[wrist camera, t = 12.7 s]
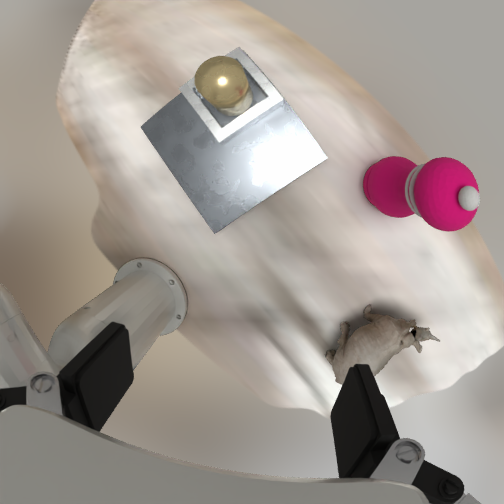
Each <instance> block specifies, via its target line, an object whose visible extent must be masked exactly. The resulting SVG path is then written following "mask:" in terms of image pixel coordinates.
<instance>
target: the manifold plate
mask: <svg viewBox="0 0 504 504" xmlns="http://www.w3.org/2000/svg"><path fill="white" fill-rule="evenodd" d="M225 56H227V57H231V58H233V59H235V60H237V61H238V62H239V63H240V64H241V66H242V68H243V70H244V73H245V75H246V78H247V80H248V83H249V85H250V88H251V90H252V94H253V100H252V103H251V105H250V107H249V108H248V109H247V110H246V111H245V112H243V113H242V114H239V115H235V116H228V115H224V114H222V113H220V112H219V111H218V110H217V109H216V108H215V107H214V106H213V105H212V104H211V103H209V102H208V101H207V100H206V99H205V98H204V97H203V96H202V95H201V94H200V93H199V92H198V91H197V89H196V87H195V82H194V78H195V77H193V78H192V79H191V80H189V81H188V82H187V83H185V84H184V85H183V86H181V87H180V88H179V90H180V91H181V92H182V93H180V94H179V95H178V96H176V97H175V98H174V99H173V100H171V101H170V102H169V103H168V104H167V105H165V106H164V107H163V108H162V109H160V110H159V111H158V112H157V113H156V114H155V115H153V116H152V117H151V118H150V119H149V120H148V121H147V122H145V123H144V124H143V125H142V126H141V128H142V130H143V131H144V133H145V134H146V136H147V137H148V139H149V140H150V142H151V143H152V145H153V146H154V148H155V149H156V150H157V152H158V153H159V155H160V156H161V158H162V159H163V161H164V162H165V164H166V165H167V166H168V168H169V169H170V171H171V172H172V174H173V175H174V177H175V178H176V180H177V181H178V182H179V184H180V185H181V187H182V188H183V190H184V191H185V192H186V194H187V195H188V197H189V198H190V200H191V201H192V202H193V204H194V205H195V207H196V208H197V210H198V211H199V212H200V214H201V215H202V217H203V218H204V220H205V221H206V222H207V224H208V225H209V227H210V228H211V229H212V231H213V232H214V234H215V233H217V232H218V231H220V230H221V229H222V228H224V227H225V226H227V225H228V224H230V223H231V222H232V221H234V220H235V219H237V218H238V217H240V216H241V215H243V214H244V213H245V212H247V211H248V210H250V209H251V208H253V207H254V206H256V205H257V204H259V203H260V202H262V201H263V200H265V199H266V198H268V197H269V196H270V195H272V194H273V193H275V192H276V191H278V190H279V189H281V188H282V187H284V186H285V185H287V184H288V183H290V182H291V181H293V180H295V179H296V178H298V177H299V176H301V175H302V174H304V173H305V172H307V171H308V170H310V169H311V168H313V167H314V166H316V165H318V164H319V163H321V162H322V161H324V160H325V159H327V157H326V155H325V154H324V152H323V151H322V149H321V148H320V146H319V145H318V143H317V142H316V141H315V139H314V138H313V136H312V135H311V133H310V132H309V131H308V129H307V128H306V127H305V125H304V124H303V122H302V121H301V120H300V118H299V117H298V116H297V114H296V113H295V112H294V111H293V109H292V108H291V107H290V105H289V104H288V103H287V101H286V100H285V99H284V98H283V96H282V95H281V94H280V93H279V91H278V90H277V89H276V88H275V86H274V85H273V84H272V83H271V82H270V80H269V79H268V78H267V77H266V76H265V74H264V73H263V72H262V71H261V70H260V69H259V67H258V66H257V65H256V64H255V63H254V62H253V61H252V59H251V58H250V57H249V56H248V55H247V54H246V53H245V52H244V51H243V50H242V49H241V48H240V47H238V48H236V49H235V50H233V51H231V52H230V53H228V54H227V55H225Z"/></svg>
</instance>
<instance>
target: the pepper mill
mask: <svg viewBox="0 0 504 504" xmlns="http://www.w3.org/2000/svg"><path fill="white" fill-rule="evenodd" d="M363 188H364V193H365V195H366V197H367V199H368V200H369V201H370V203H372V204H373V205H374V206H376V208H377V209H378V210H379V211H381V212H382V213H384V214H385V215H388V216H391V217H397V218H402V217H407V216H410V215H413V214H414V213H415V214H417V215H418V216H420V217H422V218H423V219H424V220H425V221H426V222H427V223H428V224H429V225H431V226H432V227H434V228H436V229H439V230H442V231H456V230H459V229H462V228H463V227H465V226H466V225H467V224H469V223H470V222H471V220H472V219H473V217H474V215H475V214H476V211H477V208H478V205H479V202H480V196H479V190H478V185H477V183H476V180H475V178H474V176H473V174H472V172H471V171H470V170H469V169H468V168H467V167H466V166H465V165H464V164H462V163H461V162H459V161H458V160H455V159H452V158H447V157H441V158H435V159H432V160H431V161H429V162H427V163H426V164H421V165H419V166H417V165H416V164H415V163H413V162H412V161H410V160H408V159H406V158H403V157H396V156H392V157H387V158H384V159H382V160H380V161H379V162H378V163H376V164H374V165H372V166H371V167H370V168H369V169H368V170H367V172H366V174H365V176H364V180H363Z"/></svg>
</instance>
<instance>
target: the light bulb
mask: <svg viewBox="0 0 504 504" xmlns="http://www.w3.org/2000/svg"><path fill="white" fill-rule="evenodd" d="M194 82H195V87H196V89H197V91H198V92H199V93H200V94H201V95H202V96H203V97H204V98H205V99H206V100H207V101H208V102H209V103H211V104H212V105H213V106H214V107H215V108H216V109H217V110H218V111H219V112H220V113H222V114H224V115H228V116H235V115H239V114H242V113H243V112H245V111H246V110H247V109H248V108H249V107H250V105H251V103H252V100H253V94H252V90H251V88H250V85H249V83H248V80H247V78H246V75H245V73H244V70H243V68H242V66H241V64H240V63H239V62H238V61H237V60H235V59H233V58H231V57H227V56H217V57H213V58H210V59H208V60H207V61H205V62H204V63H202V64H201V65H200V67H199V68H198V70H197V71H196V74H195V78H194Z"/></svg>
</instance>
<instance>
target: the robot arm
mask: <svg viewBox="0 0 504 504" xmlns="http://www.w3.org/2000/svg"><path fill="white" fill-rule="evenodd" d="M173 280H174V281H173ZM186 312H187V296H186V293H185V289H184V287H183V285H182V283H181V281H180V280H179V278H178V277H177V276H176V275H175V273H174V272H173V271H172V270H171V269H169V268H168V267H167V266H165V265H164V264H162V263H160V262H158V261H156V260H153V259H148V258H138V259H134V260H131V261H129V262H128V263H126V264H124V265H123V266H122V267H121V268H120V269H119V270H118V272H117V273H116V276H115V278H114V282H113V285H112V286H111V287H109V288H108V289H106V290H105V291H104V292H102V293H101V294H99V295H98V296H97V297H95V298H94V299H92V300H91V301H90V302H88V303H87V304H86V305H84V306H83V307H81V308H80V309H79V310H77V311H76V312H75V313H73V314H72V315H70V316H69V317H68V318H67V319H65V320H64V321H63V322H62V323H61V324H60V325H59V326H58V327H57V329H56V330H55V332H54V334H53V336H52V339H51V341H50V345H49V349H48V353H47V352H46V350H45V349H44V347H43V346H42V344H41V343H40V341H39V340H38V338H37V336H36V335H35V333H34V332H33V330H32V328H31V327H30V325H29V323H28V322H27V320H26V318H25V316H24V314H23V313H22V312H21V310H20V308H19V306H18V304H17V303H16V301H15V299H14V297H13V296H12V294H11V293H10V292H9V290H8V289H7V288H6V287H5V286H4V285H2V284H1V283H0V504H481V503H480V502H478V501H477V500H476V499H475V498H474V497H473V496H471V495H470V494H469V493H468V494H467V495H465V494H464V485H463V482H462V481H461V479H460V478H458V477H457V476H455V475H453V474H451V473H449V472H447V471H445V470H443V469H441V468H439V467H437V466H435V465H433V464H431V463H429V462H427V461H425V460H424V457H425V451H424V449H423V447H422V446H421V445H420V443H418V442H417V441H415V440H412V439H408V438H403V439H400V437H399V434H398V431H397V429H396V426H395V424H394V421H393V418H392V415H391V413H390V410H389V408H388V405H387V402H386V400H385V397H384V396H383V395H382V394H381V393H380V391H379V388H378V386H377V383H376V380H375V378H374V376H373V373H372V371H371V368H370V366H369V365H368V364H355V365H354V366H353V367H350V368H349V370H348V373H347V375H346V378H345V380H344V383H343V385H342V388H341V390H340V392H339V395H338V397H337V399H336V402H335V404H334V406H333V409H332V411H331V423H332V429H333V436H334V443H335V450H336V457H337V464H338V473H339V478H330V479H329V478H328V479H327V478H294V477H279V476H268V475H258V474H251V473H243V472H237V471H231V470H225V469H219V468H214V467H209V466H204V465H200V464H195V463H191V462H187V461H183V460H179V459H175V458H172V457H168V456H165V455H161V454H158V453H155V452H152V451H148V450H145V449H142V448H140V447H136V446H133V445H131V444H128V443H126V442H123V441H120V440H118V439H115V438H113V437H110V436H108V435H105V434H103V433H100V432H99V431H100V430H101V429H102V427H103V426H104V424H105V423H106V421H107V419H108V418H109V417H110V415H111V413H112V412H113V411H114V409H115V407H116V406H117V404H118V403H119V402H120V400H121V399H122V397H123V396H124V394H125V393H126V391H127V390H128V388H129V387H130V385H131V384H132V382H133V379H134V373H133V370H134V369H135V368H136V366H137V365H138V363H139V362H140V361H141V359H142V358H143V357H144V355H145V354H146V353H147V351H148V350H149V349H150V347H151V346H152V345H153V343H154V342H155V340H156V339H157V338H158V337H159V336H161V335H166V334H169V333H171V332H173V331H174V330H176V329H177V328H178V327H179V326H180V324H181V323H182V321H183V320H184V318H185V315H186Z"/></svg>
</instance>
